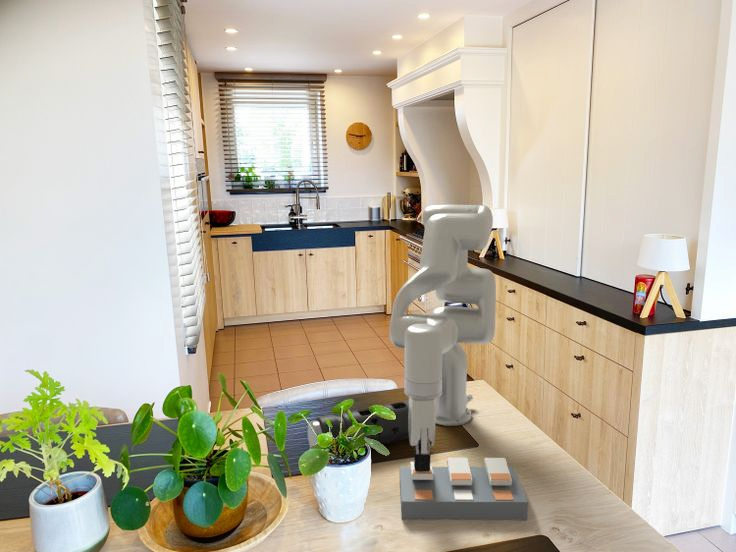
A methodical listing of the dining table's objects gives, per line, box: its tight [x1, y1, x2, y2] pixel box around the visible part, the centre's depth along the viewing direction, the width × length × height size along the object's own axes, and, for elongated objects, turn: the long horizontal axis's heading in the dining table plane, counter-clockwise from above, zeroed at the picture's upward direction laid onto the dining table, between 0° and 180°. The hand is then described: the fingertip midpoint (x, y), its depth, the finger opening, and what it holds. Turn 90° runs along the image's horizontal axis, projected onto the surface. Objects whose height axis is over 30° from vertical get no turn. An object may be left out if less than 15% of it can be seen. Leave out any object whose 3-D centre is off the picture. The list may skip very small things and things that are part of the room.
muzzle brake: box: [307, 400, 409, 449], centre depth 140 cm, size 10×28×10 cm, turn 113°
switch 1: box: [409, 461, 433, 480], centre depth 119 cm, size 7×4×3 cm, turn 179°
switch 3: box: [483, 457, 512, 485], centre depth 119 cm, size 7×4×3 cm, turn 178°
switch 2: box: [446, 457, 472, 485], centre depth 119 cm, size 7×4×3 cm, turn 178°
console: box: [399, 466, 529, 521], centre depth 118 cm, size 13×25×4 cm, turn 89°
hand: (422, 469), depth 116 cm, fingers closed
